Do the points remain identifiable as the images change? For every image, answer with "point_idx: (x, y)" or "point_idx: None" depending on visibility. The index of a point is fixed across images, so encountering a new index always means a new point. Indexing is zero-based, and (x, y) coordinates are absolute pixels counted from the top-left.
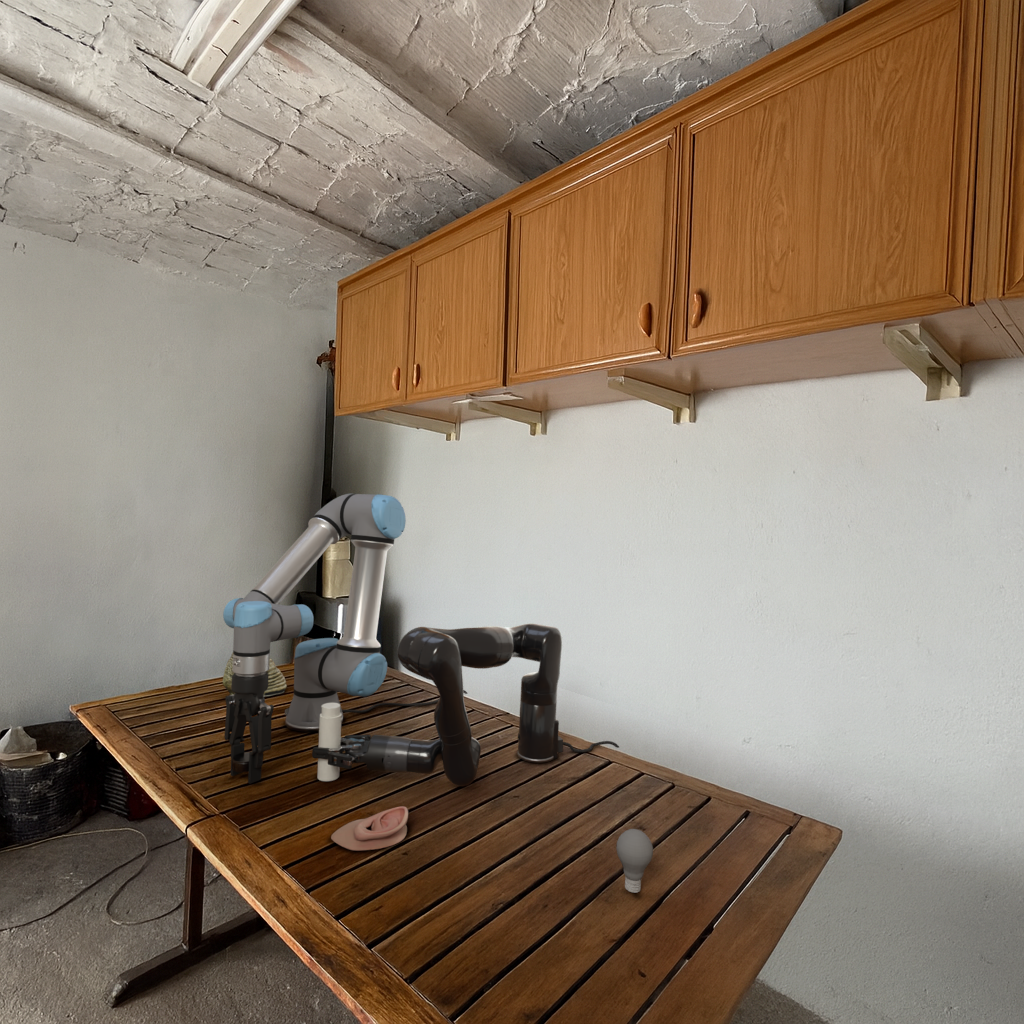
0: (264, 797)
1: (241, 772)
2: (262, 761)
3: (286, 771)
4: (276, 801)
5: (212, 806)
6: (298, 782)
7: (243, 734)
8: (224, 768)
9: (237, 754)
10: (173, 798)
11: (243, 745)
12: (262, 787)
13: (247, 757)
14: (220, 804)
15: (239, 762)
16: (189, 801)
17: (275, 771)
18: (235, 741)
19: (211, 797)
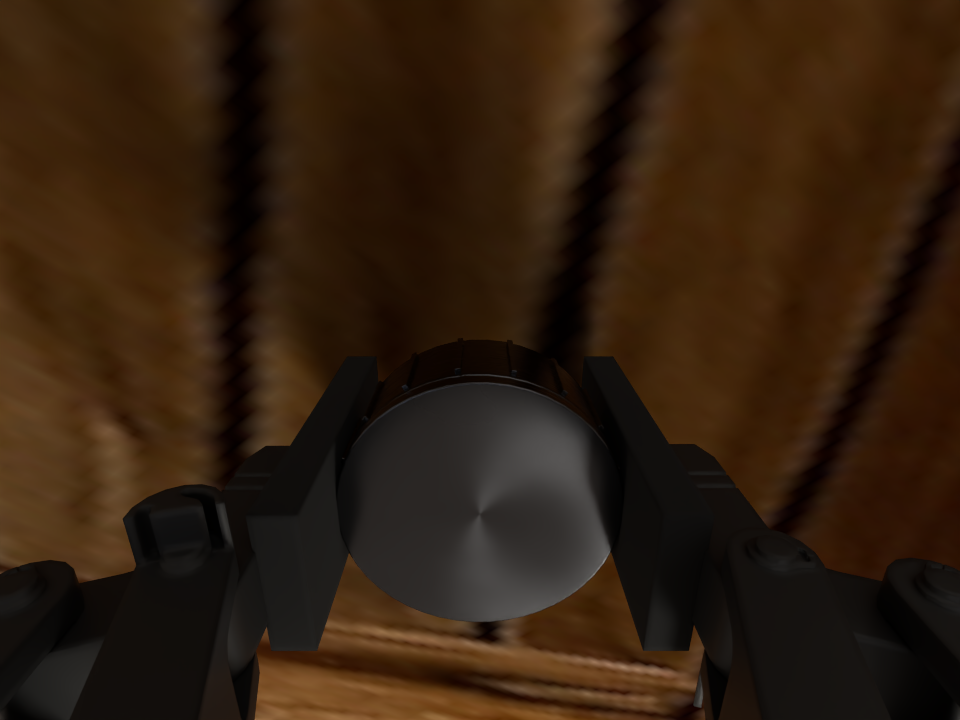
0: (802, 464)
1: (375, 373)
2: (727, 480)
3: (619, 47)
4: (919, 454)
5: (610, 666)
6: (887, 149)
7: (215, 641)
8: (144, 353)
9: (347, 530)
10: (359, 716)
11: (305, 513)
12: (676, 384)
13: (506, 516)
14: (628, 637)
15: (534, 606)
16: (457, 695)
17: (529, 120)
18: (245, 656)
19: (511, 622)
